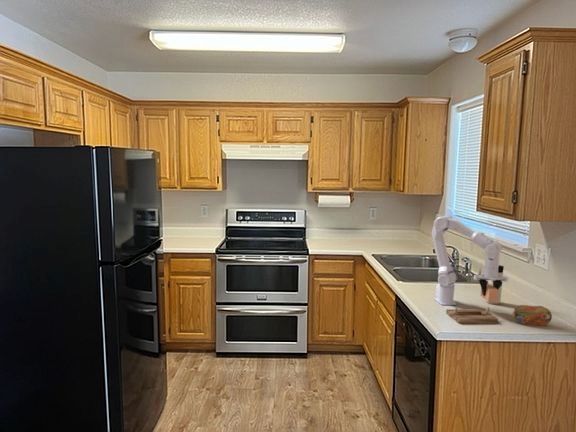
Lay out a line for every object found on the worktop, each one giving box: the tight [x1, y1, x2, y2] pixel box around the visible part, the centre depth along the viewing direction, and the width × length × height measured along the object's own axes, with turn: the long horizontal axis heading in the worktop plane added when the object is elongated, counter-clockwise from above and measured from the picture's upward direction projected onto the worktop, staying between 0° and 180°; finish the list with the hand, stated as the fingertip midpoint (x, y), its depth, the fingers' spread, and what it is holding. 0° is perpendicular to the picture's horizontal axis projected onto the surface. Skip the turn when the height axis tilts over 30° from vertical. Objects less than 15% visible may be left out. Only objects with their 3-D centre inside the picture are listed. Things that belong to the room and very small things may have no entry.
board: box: [445, 306, 499, 325], centre depth 186 cm, size 12×18×5 cm, turn 95°
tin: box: [513, 304, 553, 327], centre depth 181 cm, size 15×3×8 cm, turn 81°
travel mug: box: [486, 264, 505, 306], centre depth 207 cm, size 6×7×20 cm
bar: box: [480, 283, 498, 303], centre depth 193 cm, size 10×4×6 cm, turn 174°
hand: (488, 295), depth 193 cm, fingers closed on bar, 4 cm apart
